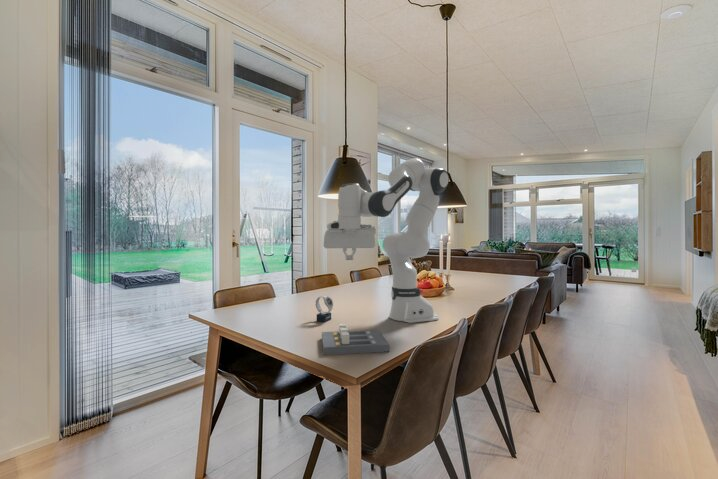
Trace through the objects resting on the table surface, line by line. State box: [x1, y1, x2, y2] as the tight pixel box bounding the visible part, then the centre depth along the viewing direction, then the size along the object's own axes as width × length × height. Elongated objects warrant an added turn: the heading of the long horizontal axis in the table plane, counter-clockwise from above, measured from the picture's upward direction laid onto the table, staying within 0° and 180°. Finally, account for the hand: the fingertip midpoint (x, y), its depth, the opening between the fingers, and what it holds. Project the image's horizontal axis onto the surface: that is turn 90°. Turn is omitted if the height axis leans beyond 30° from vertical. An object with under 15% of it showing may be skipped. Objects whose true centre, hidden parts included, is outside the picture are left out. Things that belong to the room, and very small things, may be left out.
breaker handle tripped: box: [342, 332, 349, 344], centre depth 121 cm, size 2×3×3 cm
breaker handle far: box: [338, 323, 347, 334], centre depth 132 cm, size 2×3×3 cm
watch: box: [315, 295, 334, 324], centre depth 159 cm, size 6×8×11 cm
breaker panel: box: [321, 329, 390, 356], centre depth 127 cm, size 22×17×3 cm
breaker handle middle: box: [340, 327, 349, 339], centre depth 126 cm, size 2×3×3 cm
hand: (349, 259), depth 140 cm, fingers closed
